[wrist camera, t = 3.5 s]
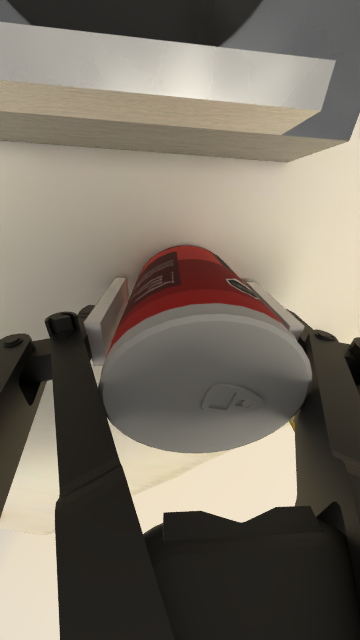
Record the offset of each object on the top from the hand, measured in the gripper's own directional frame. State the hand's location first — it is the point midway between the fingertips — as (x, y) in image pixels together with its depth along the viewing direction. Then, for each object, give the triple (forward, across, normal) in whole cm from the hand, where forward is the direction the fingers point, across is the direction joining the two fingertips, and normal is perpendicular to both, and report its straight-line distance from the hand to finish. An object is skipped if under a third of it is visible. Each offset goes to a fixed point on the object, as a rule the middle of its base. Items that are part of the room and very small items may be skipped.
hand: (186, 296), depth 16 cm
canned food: (+1, 0, 0) cm, 1 cm away
